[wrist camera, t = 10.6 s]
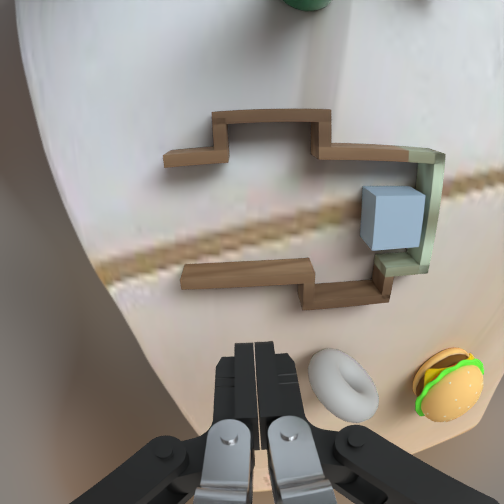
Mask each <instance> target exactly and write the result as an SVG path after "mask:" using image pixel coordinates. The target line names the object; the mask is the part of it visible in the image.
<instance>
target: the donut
mask: <svg viewBox="0 0 504 504" xmlns="http://www.w3.org/2000/svg"><path fill="white" fill-rule="evenodd" d="M308 376H309V382H310V384H311V387H312V390H313V391H314V393H315V394H316V396H317V398H318V399H319V401H320V402H321V403H322V404H323V405H324V406H325V407H326V409H327V410H329V411H330V412H331V413H332V414H334V415H335V416H336V417H338V418H340V419H342V420H344V421H347V422H353V423H360V422H363V421H366V420H368V419H370V418H371V417H372V416H373V415H374V414H375V412H376V410H377V408H378V404H379V396H378V393H377V389H376V386H375V384H374V382H373V381H372V379H371V377H370V376H369V374H368V373H367V372H366V370H365V369H364V368H363V367H362V366H361V365H360V364H359V363H358V362H357V361H356V360H355V359H353V358H352V357H351V356H349V355H348V354H346V353H344V352H342V351H340V350H337V349H327V348H326V349H323V350H321V351H319V352H317V353H316V354H314V355H313V357H312V358H311V361H310V363H309V366H308Z"/></svg>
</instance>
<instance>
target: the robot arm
mask: <svg viewBox="0 0 504 504" xmlns="http://www.w3.org/2000/svg"><path fill="white" fill-rule="evenodd" d="M255 361H256V379H257V394H258V408H259V422H260V436H261V450H265V449H267V455H268V470H269V475H270V481H271V486H272V492H273V497H274V503H275V504H337V501H336V498H335V495H334V491H333V488H334V489H335V490H336V491H338V492H339V493H340V494H342V495H344V496H345V497H346V498H348V499H349V500H351V501H352V502H353V503H355V504H499V503H498V502H497V501H496V500H495V499H493V498H491V497H489V496H487V495H485V494H483V493H481V492H479V491H477V490H475V489H473V488H471V487H469V486H467V485H465V484H463V483H461V482H459V481H458V480H456V479H454V478H452V477H450V476H448V475H446V474H444V473H443V472H441V471H439V470H437V469H435V468H434V467H432V466H430V465H428V464H427V463H425V462H423V461H421V460H420V459H418V458H416V457H414V456H413V455H411V454H409V453H408V452H406V451H404V450H403V449H401V448H399V447H398V446H396V445H394V444H393V443H391V442H389V441H388V440H386V439H385V438H383V437H381V436H380V435H378V434H376V433H375V432H373V431H372V430H370V429H369V428H367V427H364V426H361V425H350V426H347V427H345V428H343V429H342V430H340V431H339V432H338V431H330V430H323V429H320V428H317V427H315V426H313V425H312V424H311V423H310V422H309V421H308V420H307V419H306V417H305V414H304V409H303V404H302V399H301V393H300V388H299V383H298V378H297V374H296V368H295V363H294V361H293V360H292V358H291V357H290V356H289V355H288V353H283V354H275V351H274V344H273V341H268V342H255ZM254 450H260V447H259V428H258V411H257V396H256V381H255V366H254V350H253V343H235V357H222V358H221V359H220V361H219V363H218V364H217V366H216V375H215V393H214V412H213V422H212V425H211V427H210V428H209V430H208V431H207V432H206V433H204V434H203V435H201V436H199V437H196V438H193V439H189V440H185V441H180V440H179V439H177V438H175V437H172V436H160V437H156V438H154V439H152V440H151V441H150V442H149V443H147V444H146V445H145V446H144V447H143V448H141V449H140V450H139V451H138V452H136V453H135V454H134V455H133V456H132V457H130V458H129V459H128V460H127V461H125V462H124V463H123V464H122V465H120V466H119V467H118V468H116V469H115V470H114V471H113V472H111V473H110V474H109V475H108V476H106V477H105V478H104V479H102V480H101V481H100V482H98V483H97V484H96V485H94V486H93V487H92V488H90V489H89V490H88V491H86V492H85V493H83V494H82V495H81V496H79V497H78V498H77V499H75V500H74V501H72V502H71V503H70V504H185V503H186V502H187V501H188V500H189V499H190V498H191V497H192V496H193V495H195V496H194V502H193V504H252V498H253V497H252V496H253V473H254V466H255V454H254Z"/></svg>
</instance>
